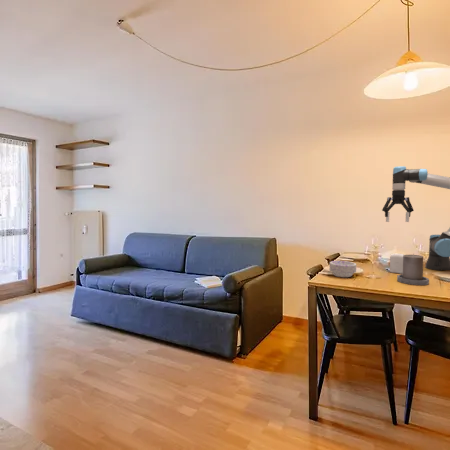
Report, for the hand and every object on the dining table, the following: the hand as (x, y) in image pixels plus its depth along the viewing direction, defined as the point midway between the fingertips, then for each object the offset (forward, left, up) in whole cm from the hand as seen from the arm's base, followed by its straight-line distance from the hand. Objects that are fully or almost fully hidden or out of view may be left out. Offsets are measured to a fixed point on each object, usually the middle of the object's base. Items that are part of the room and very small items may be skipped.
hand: (397, 221), depth 208 cm
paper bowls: (+45, +20, -32) cm, 59 cm away
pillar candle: (+12, +36, -31) cm, 49 cm away
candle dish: (+12, +36, -32) cm, 49 cm away
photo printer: (+6, +13, -32) cm, 35 cm away
